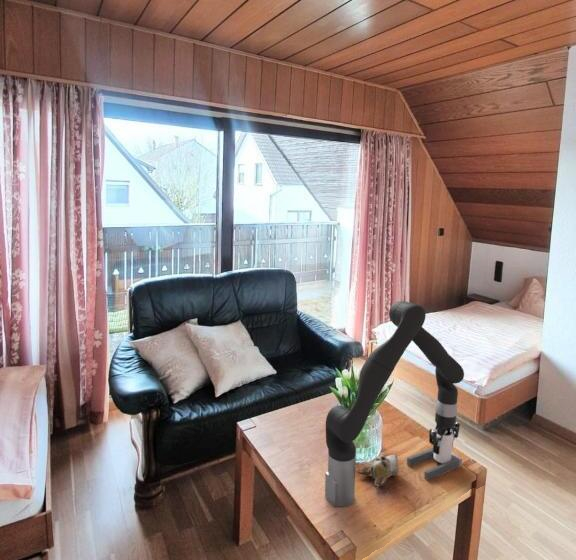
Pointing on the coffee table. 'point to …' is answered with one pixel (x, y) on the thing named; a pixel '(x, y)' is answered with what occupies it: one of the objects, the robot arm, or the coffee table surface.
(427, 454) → the frame
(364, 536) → the coffee table surface
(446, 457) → the can
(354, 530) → the coffee table surface
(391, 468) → the ceramic sculpture
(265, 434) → the coffee table surface
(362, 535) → the coffee table surface
